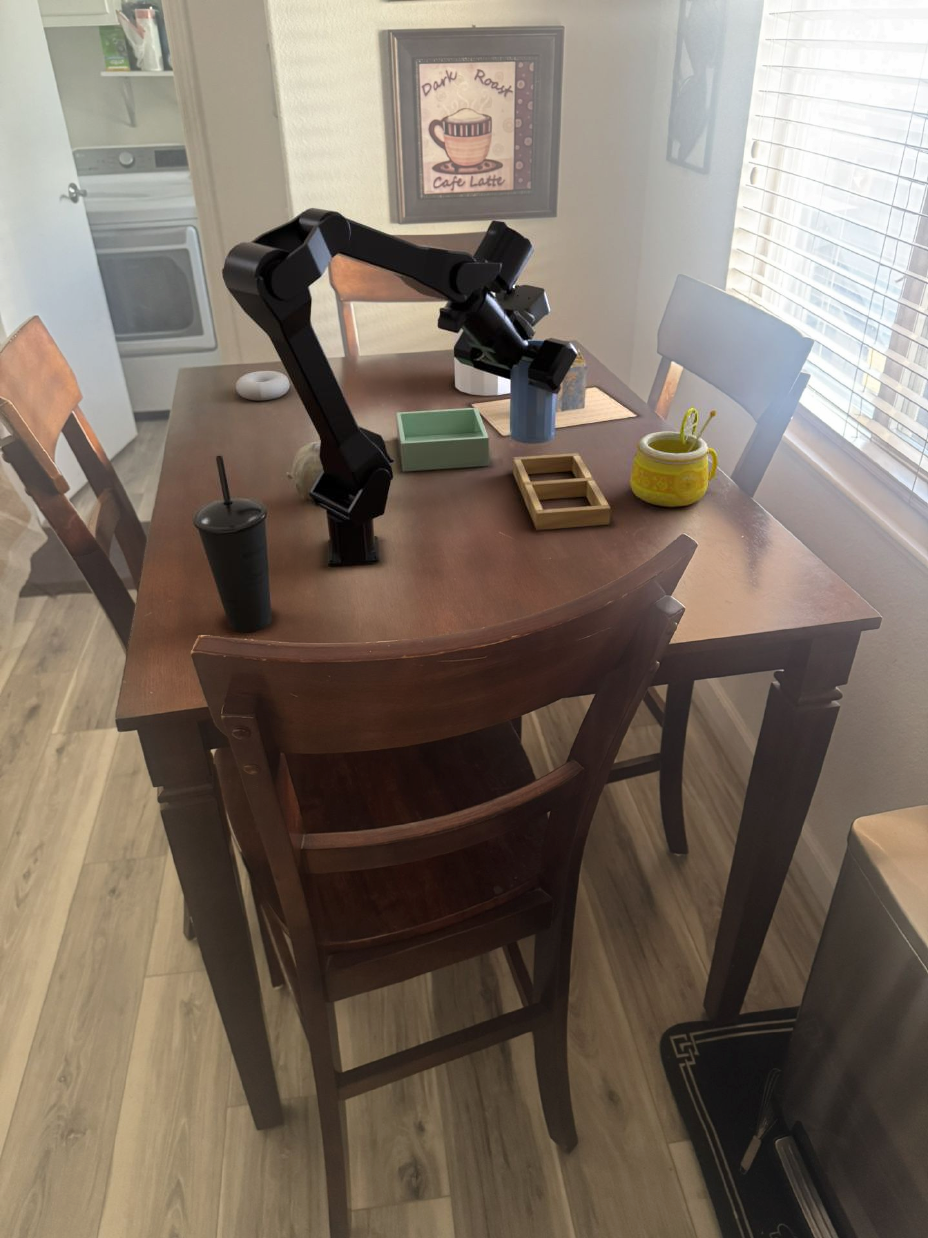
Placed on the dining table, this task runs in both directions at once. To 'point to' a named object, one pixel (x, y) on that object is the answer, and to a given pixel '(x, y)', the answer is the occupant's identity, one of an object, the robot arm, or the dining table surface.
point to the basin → (442, 439)
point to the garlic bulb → (306, 468)
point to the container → (478, 378)
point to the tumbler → (530, 407)
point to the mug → (673, 466)
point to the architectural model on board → (564, 403)
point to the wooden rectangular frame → (560, 491)
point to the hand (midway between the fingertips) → (540, 385)
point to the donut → (262, 385)
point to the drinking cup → (237, 556)
